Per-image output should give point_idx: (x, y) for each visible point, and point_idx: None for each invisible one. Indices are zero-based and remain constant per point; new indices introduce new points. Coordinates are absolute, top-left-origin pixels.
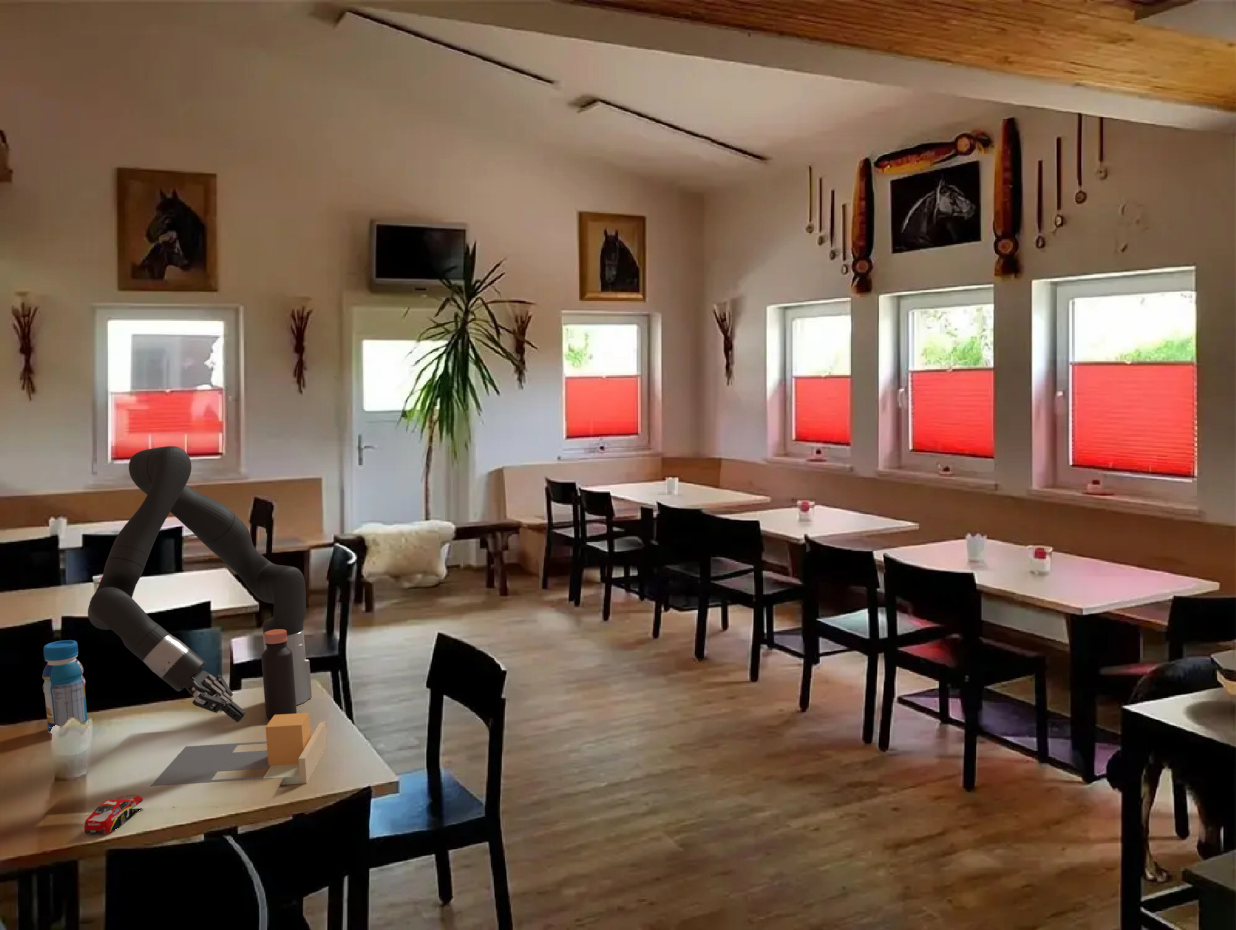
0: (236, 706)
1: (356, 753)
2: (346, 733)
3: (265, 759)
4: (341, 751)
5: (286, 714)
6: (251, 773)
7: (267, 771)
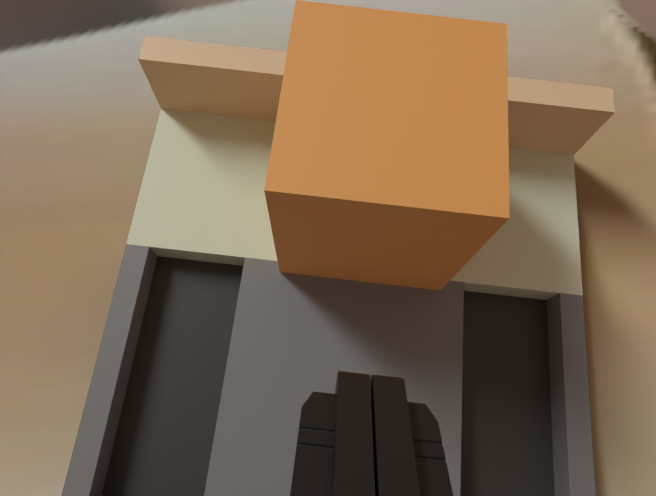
0: (379, 450)
1: None
2: (73, 48)
3: (357, 314)
4: None
5: (283, 117)
6: None
7: (505, 285)
